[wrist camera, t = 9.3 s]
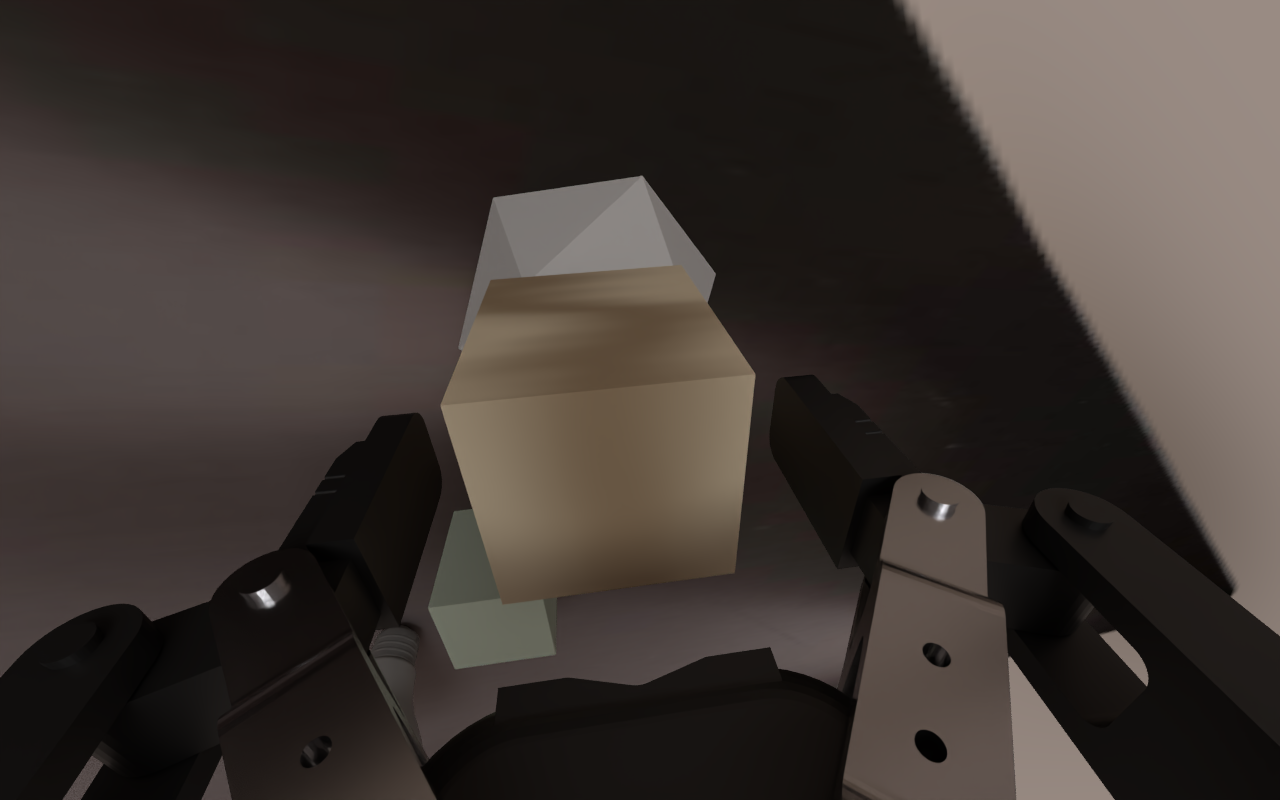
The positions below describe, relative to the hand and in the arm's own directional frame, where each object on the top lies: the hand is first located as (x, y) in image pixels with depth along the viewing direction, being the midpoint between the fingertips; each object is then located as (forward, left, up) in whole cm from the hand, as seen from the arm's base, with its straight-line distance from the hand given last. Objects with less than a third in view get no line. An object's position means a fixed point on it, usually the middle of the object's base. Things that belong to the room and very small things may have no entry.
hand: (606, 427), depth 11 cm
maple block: (0, 0, -4) cm, 4 cm away
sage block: (-6, -15, -11) cm, 20 cm away
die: (0, 0, -11) cm, 11 cm away
